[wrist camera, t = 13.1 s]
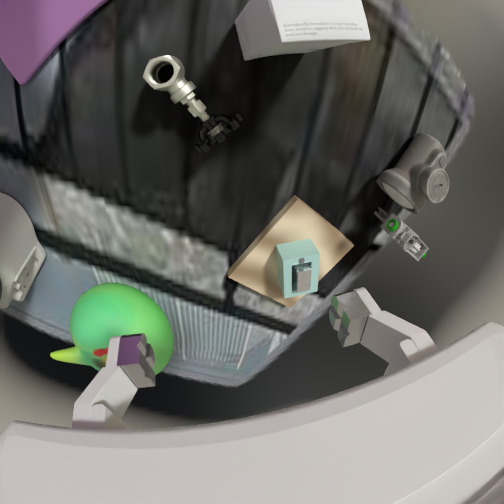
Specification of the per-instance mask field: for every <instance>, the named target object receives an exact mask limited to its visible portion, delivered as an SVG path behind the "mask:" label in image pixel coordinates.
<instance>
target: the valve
mask: <svg viewBox="0 0 504 504" xmlns="http://www.w3.org/2000/svg"><path fill="white" fill-rule="evenodd" d="M168 64H171V65H172V66H173V68H174V74H173V76H172V78H171V79H170V80H169V81H168V82H166V83H163V82H161V81H160V80H159V78H158V72H159V70H160V68H161V67H163V66H164V65H168ZM143 78H144V79H145V80H146V81H147V82H148V84H149V85H150V86H151V87H152V88H154V89H156V90H159V91H168V92H169V93H170V95H171V97H170V99H171V100H172V101H173V102H174V103H175V104H176V103H178V102H179V101H180V102H181V103H182V104H183V105H184V104H187V105H188V106H189V108H188V110H189V111H190V113H191V114H192V115H193V116H194V117H196V116H198V117H199V118H200V119H201V120H202V121H203V122H202V123H201V124H200V125H201V127H202V128H201V129H200V131H199V141H200V142H201V143H202V144H200V145H198V144H196V145H195V146H194V147H193V148H194V149H195V150H196V151H197V153H201V152H202V151H203V153H206V152H208V151H209V150H210V149H211V148H212V145H213V144H215V143H216V142H218V143H221V142H223V141H224V140H225V139H226V138H227V136H226V135H227V134H228V133H229V132H230V131H234V130H236V129H237V128H239V127H240V123H239V122H241V121H242V120H243V119H244V117H243V116H242V115H241V114H240V112H237V113H235V114H234V115H235V116H236V118H234V117H233V115H232V114H230V115H228V116H226V115H218V116H215V115H214V114H212V115H210V116H209V114H208V113H207V112H206V111H205V109H206V108H207V107H206V106H205V105H204V104H203V103H202V102H201V100H200V99H199V100H196V99H195V94H194V93H193V91H192V90H194V89H195V88H196V86H195V85H194V84H193V83H192V82H191V81H190V82H187V81H186V79H185V78H184V66H183V64H182V62H181V61H180V60H179V59H177V58H176V57H173V56H169V55H167V56H161V57H158V58H154V59H151V60H149V62H148V64H147V67H146V69H145V72H144V75H143ZM191 87H192V88H191ZM175 100H176V101H175ZM220 120H223V121H224V123H221V122H220ZM205 131H206V132H207V133H208V135H207V136H206V135H205V134H204V133H205Z"/></svg>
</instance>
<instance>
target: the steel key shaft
mask: <svg viewBox="0 0 504 504" xmlns="http://www.w3.org/2000/svg"><path fill="white" fill-rule="evenodd" d="M292 281H293V284H294V286H295V288H296V291H297V293H299V292H303V291H308V290H310V283H311V268H310V266H309V265H308V263H304V264H298V265H293V266H292Z"/></svg>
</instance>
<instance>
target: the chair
mask: <svg viewBox="0 0 504 504" xmlns="http://www.w3.org/2000/svg"><path fill="white" fill-rule="evenodd" d="M107 1H108V0H0V58H1V60H2V61H3V62H4V64H5V65H6V67H7V68H8V69H9V71H10V72H11V73H12V75H13V76H14V77H15V79H16V80H17V81H18V83H19V84H20V85H21V84H26V83H27V82H28V81H29V80H30V78H31V77H32V76H33V74H34V73H35V72H36V71H37V70H38V68H39V67H40V66H41V65H42V64H43V62H44V61H45V60H46V59H47V58H48V57H49V56H50V54H51V53H52V52H53V51H54V50H55V49H56V48H57V47H58V46H59V45H60V44H61V43H62V42H63V41H64V40H65V39H66V38H67V37H68V36H69V35H70V34H71V33H72V32H73V31H74V30H75V29H76V28H77V27H78V26H79V25H80V24H81V23H82V22H83V21H84V20H86V19H87V18H88V17H89V16H90V15H91V14H92V13H94V12H95V11H96V10H97V9H98V8H100V7H101V6H102V5H103V4H104V3H106V2H107Z"/></svg>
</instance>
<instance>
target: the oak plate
mask: <svg viewBox="0 0 504 504" xmlns="http://www.w3.org/2000/svg"><path fill="white" fill-rule="evenodd" d="M305 239H311V240H312V242H313V244H314V245H315V247H316V248H317V250H318V251H319V253H320V259H319V275H318V281H319V280H320V279H321V278H322V277H323V276H324V275H325V274H326V273H327V272H328V271H329V270H330V269H331V268H332V267H333V266H334V265H335V264H336V263H337V262H338V261H339V260H340V259H341V258H342V257H343V256H344V255H345V254H346V253H347V252H348V251H349V250H350V249H351V248H352V247H353V246H354V245H353V243H352V242H351V241H350V240H349V239H348V238H347V237H345V236H344V235H343V234H342V233H341V232H340V231H338V230H337V229H336V228H335V227H334V226H332V225H331V224H330V223H329V222H328V221H326V220H325V219H324V218H323V217H321V216H320V215H319V214H318V213H317V212H315V211H314V210H313V209H312V208H310V207H309V206H308V205H307V204H305V203H304V202H303V201H302V200H300V199H299V198H298V197H296V196H295V195H294V196H293V197H292V198H291V199H290V201H289V202H288V203H287V204H286V205H285V206H284V207H283V208H282V210H281V211H280V212H279V213H278V214H277V215H276V216H275V218H274V219H273V220H272V221H271V222H270V223H269V224H268V225H267V227H266V228H265V229H264V230H263V231H262V232H261V233H260V235H259V236H258V237H257V238H256V239H255V240H254V241H253V243H252V244H251V245H250V246H249V247H248V248H247V249H246V250H245V252H244V253H243V254H242V255H241V256H240V257H239V258H238V260H237V261H236V262H235V263H234V264H233V265H232V266H231V268H230V269H229V270H228V271H227V273H228V277H229V278H231V279H233V280H235V281H237V282H239V283H241V284H243V285H245V286H247V287H249V288H251V289H253V290H255V291H257V292H259V293H261V294H263V295H265V296H267V297H269V298H271V299H273V300H275V301H278V302H280V303H282V304H284V305H286V306H288V307H290V308H291V307H292V306H293V305H294V304H295V303H296V302H297V301H298V300H299V299H300V298H301V297H302V296H304V295H305V294H303V295H298V296H294V297H289V298H285V299H284V296H283V293H282V291H281V288H280V286H279V283H278V271H277V253H276V245H278V244H283V243H288V242H294V241H299V240H305Z"/></svg>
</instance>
